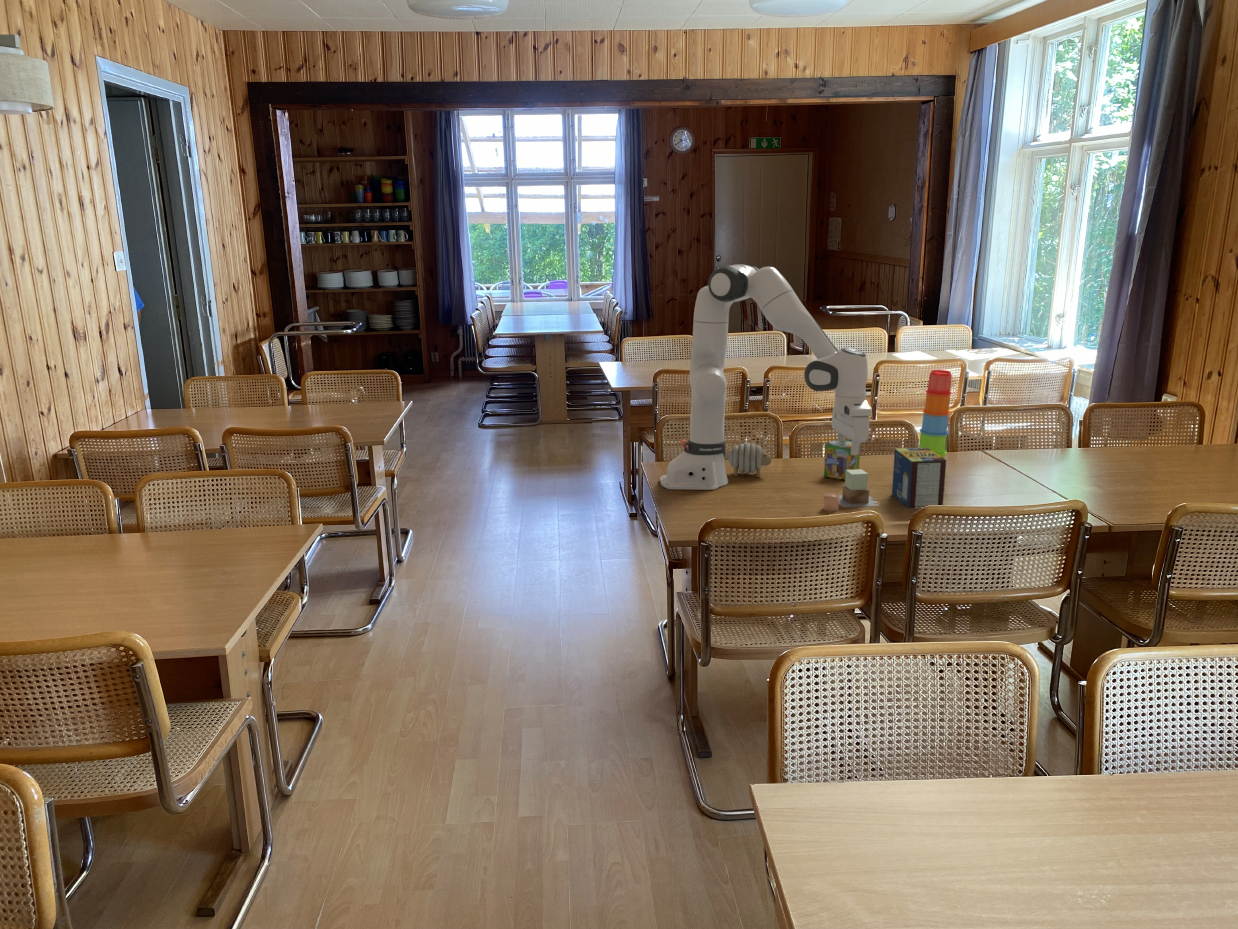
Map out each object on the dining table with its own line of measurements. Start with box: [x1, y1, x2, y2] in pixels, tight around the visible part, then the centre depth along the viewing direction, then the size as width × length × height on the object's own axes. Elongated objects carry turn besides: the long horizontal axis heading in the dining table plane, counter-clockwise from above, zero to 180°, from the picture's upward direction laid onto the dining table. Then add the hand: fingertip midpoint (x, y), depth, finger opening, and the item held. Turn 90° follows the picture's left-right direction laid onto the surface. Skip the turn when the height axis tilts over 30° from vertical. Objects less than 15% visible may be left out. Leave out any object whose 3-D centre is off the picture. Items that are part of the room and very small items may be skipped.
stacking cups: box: [917, 369, 953, 459], centre depth 301 cm, size 10×10×35 cm
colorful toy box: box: [823, 439, 862, 480], centre depth 300 cm, size 9×9×15 cm
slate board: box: [838, 494, 879, 508], centre depth 273 cm, size 12×12×1 cm
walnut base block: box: [841, 484, 870, 504], centre depth 273 cm, size 6×6×4 cm
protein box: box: [891, 447, 947, 510], centre depth 270 cm, size 10×15×16 cm
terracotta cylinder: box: [822, 492, 840, 512], centre depth 265 cm, size 4×4×5 cm
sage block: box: [844, 468, 869, 490], centre depth 272 cm, size 5×5×5 cm
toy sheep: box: [724, 442, 772, 478], centre depth 304 cm, size 11×17×11 cm, turn 84°
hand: (847, 450), depth 266 cm, fingers open, 8 cm apart
